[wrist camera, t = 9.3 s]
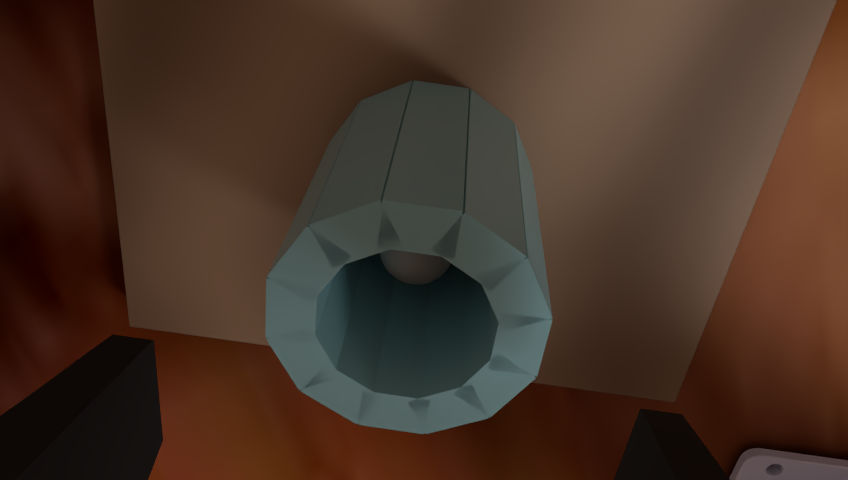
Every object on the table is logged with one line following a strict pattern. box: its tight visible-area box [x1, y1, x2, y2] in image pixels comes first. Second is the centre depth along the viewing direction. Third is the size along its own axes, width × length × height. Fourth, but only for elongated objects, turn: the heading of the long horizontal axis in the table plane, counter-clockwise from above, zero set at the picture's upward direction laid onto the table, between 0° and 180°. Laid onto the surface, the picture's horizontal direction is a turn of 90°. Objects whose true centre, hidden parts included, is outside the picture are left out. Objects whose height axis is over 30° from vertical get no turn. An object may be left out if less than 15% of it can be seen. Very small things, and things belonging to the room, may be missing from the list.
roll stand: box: [93, 0, 837, 403], centre depth 17 cm, size 16×12×5 cm
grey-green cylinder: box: [265, 80, 553, 434], centre depth 15 cm, size 5×5×6 cm
